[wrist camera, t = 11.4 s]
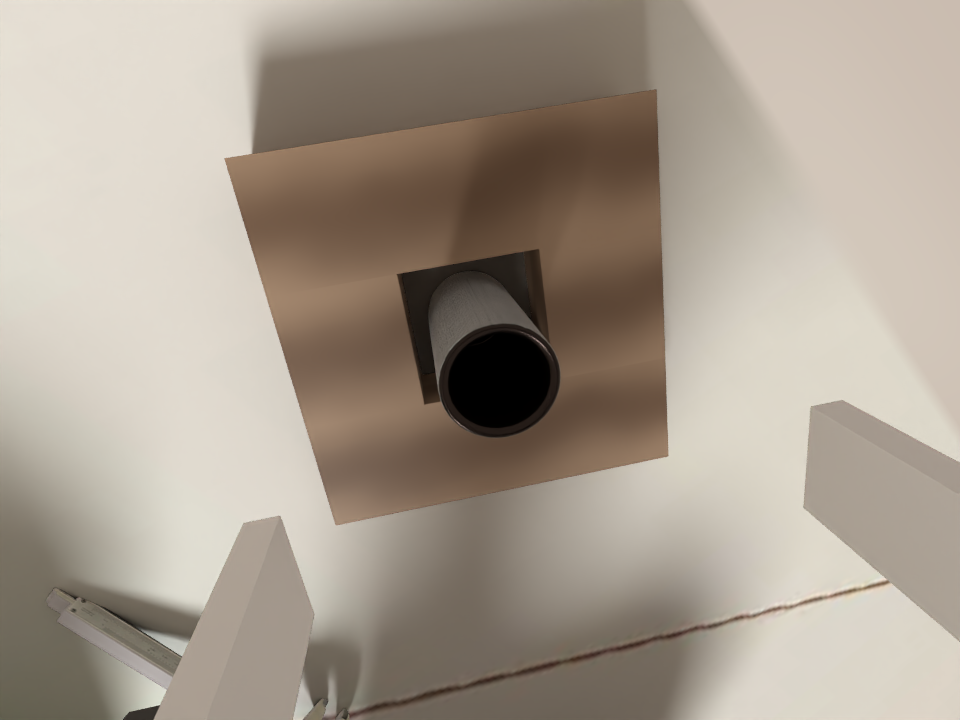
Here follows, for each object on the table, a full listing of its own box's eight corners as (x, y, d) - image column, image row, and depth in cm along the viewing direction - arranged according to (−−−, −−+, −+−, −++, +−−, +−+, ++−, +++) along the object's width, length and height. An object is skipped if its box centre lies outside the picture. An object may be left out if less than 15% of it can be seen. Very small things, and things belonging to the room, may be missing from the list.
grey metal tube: (410, 313, 29) (411, 387, 19) (469, 252, 28) (502, 296, 18) (469, 367, 30) (499, 461, 20) (527, 310, 29) (586, 380, 20)
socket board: (638, 423, 33) (668, 456, 29) (344, 482, 32) (335, 525, 28) (621, 100, 26) (656, 89, 23) (251, 159, 25) (224, 158, 21)
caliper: (351, 706, 38) (341, 804, 32) (342, 716, 38) (330, 815, 32) (57, 583, 32) (-21, 676, 26) (49, 595, 32) (-32, 691, 26)
